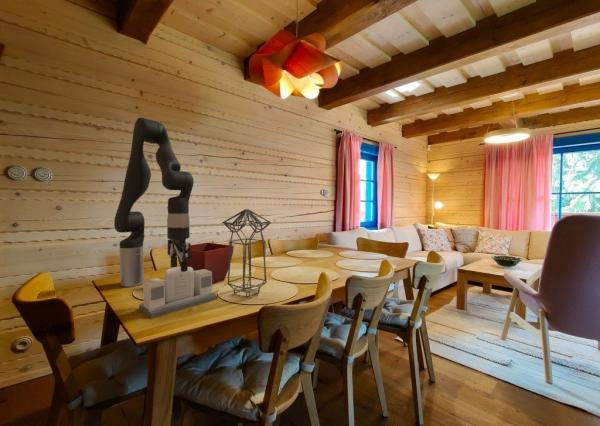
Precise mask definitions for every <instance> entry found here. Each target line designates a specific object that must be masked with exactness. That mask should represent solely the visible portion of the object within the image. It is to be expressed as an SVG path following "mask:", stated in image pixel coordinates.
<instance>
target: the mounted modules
mask: <svg viewBox="0 0 600 426" xmlns="http://www.w3.org/2000/svg"><path fill="white" fill-rule="evenodd" d="M193 272H194V295H196V296H198V295H202V294H206V293H210V292H213V284H212V272H211V271H208V270H205V269H202V270H197V271H193ZM142 292H143V293H142V297H143V299H142V301H143V302H142V303H143V306H144V307H145V308H147V309H149V308H153V307H156V306H160V305H164V304H165V281H164V280H163V279H161V278H159V277H157V278H156V277H155V278H151V279H144V281H143V284H142Z"/></svg>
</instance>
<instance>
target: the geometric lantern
mask: <svg viewBox="0 0 600 426" xmlns="http://www.w3.org/2000/svg"><path fill="white" fill-rule="evenodd" d="M256 216H257V217H256ZM236 217H237V218H236ZM234 218H235V219H234ZM259 218H260V219H261V220H262V219H263V220H264V221H263V222H261V220H260V219H259ZM232 219H234V221H232V222H229V221H231V220H232ZM250 219H251V220H250ZM247 222H248V224H247ZM241 223H242V224H241ZM220 224H221V225H222V224H223V225H224V226H225V227H226V228H227V229H229V231H230V233H231V236H230V241H229V242H228V243H229V244H228V245H229V265H228V272H227V283H226V284H227V285H228V286H229V287H230V289H231V288H232V289H233V293H232V294H233V296H238V297H242V298H250V297H252V296H254V295H257V294H260V293H261V289H260V288H262V287H263V286H265V284H267V283H268V282H267V268H266V247H265V246H266V245H265V239H264V234H263V230H265V229H266V228H267V227H269V226H270V225H271V224H272V222H271V221H270V220H268V219H266V218H264V217H263V216H261V215H259V214H258V213H257V212H255V211H252V210H251V209H248V208H245V209H243V210H241V211H240V212H237V213H236V214H235V215H233V216H231V217H229V218H227V219H225V220H224V221H223V222H220ZM245 226H248V227H249V226H250V227H251V229H252V230H253V232H252V233H251V235H250V236H249V238H248V237H247V236H246V235H245V233H244V232H243V231H242V229H243V228H244V227H245ZM236 227H237V228H236ZM258 227H260V228H258ZM257 230H258V231H257ZM239 231H240V232H241V233H242V235H243V236H244V238H241V235H239ZM234 233H236V235H237V237H238V238H239V239H236V240H235V239H234V240H233V237H234V236H233V235H234ZM257 233H260V236H261V237H260V238H261V239H255V238H254V236H255V234H257ZM243 240H245V241H243ZM239 241H241V242H239ZM251 241H257V242H251ZM244 242H245V243H244ZM261 243H262V254H263V255H262V256H263V266H264V267H263V273H264V274H263V275H264V276H263V277H264V278H259V277H254V276H252V245H255V244H261ZM233 244H236V245H243V250H242V251H243V252H242V255H243V256H242V257H243V258H242V277H239V278H235V279H232V280H230V274H231V262H232V259H231V250H232V246H233ZM247 254H248V257H247ZM247 258H248V261H246V260H247ZM246 262H248V276H246V266H247V265H246ZM245 278H246V279H248V281H247V282H246V280H245ZM252 279H253V280H257V281H262V283H261V282H260V283H258V284H256V285H255V284H251V283H252ZM239 280H242V285H239V286H238V285H236V284H233V283H234V282H235V281H236V282H237V281H239ZM232 282H233V283H232ZM255 287H256V288H255ZM240 289H241V290H240ZM247 290H248V291H247ZM253 291H256V292H254V293H253V294H251V292H253ZM240 292H242V293H245V295H241V294H237V293H240Z"/></svg>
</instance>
